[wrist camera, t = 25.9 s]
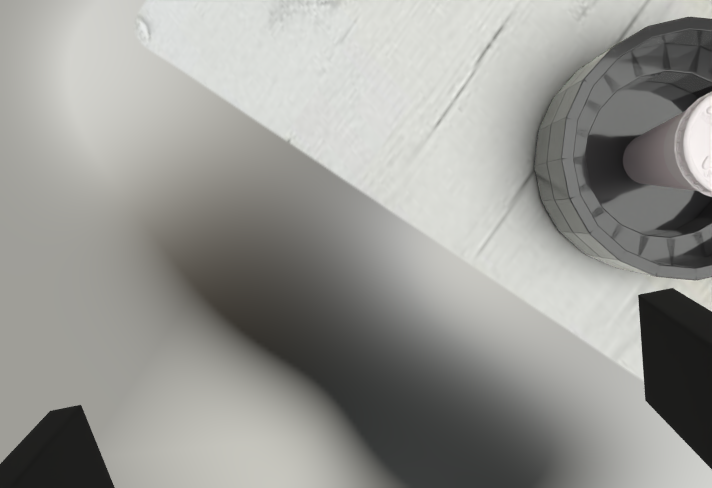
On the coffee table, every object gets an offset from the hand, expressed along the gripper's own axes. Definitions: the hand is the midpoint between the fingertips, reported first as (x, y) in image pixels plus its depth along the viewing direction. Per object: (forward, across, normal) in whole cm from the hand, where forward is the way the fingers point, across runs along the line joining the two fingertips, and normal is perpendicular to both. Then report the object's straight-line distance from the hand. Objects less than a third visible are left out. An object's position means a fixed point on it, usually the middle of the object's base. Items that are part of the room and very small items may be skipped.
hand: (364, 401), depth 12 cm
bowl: (+29, +22, -2) cm, 36 cm away
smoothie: (+29, +22, -2) cm, 36 cm away
